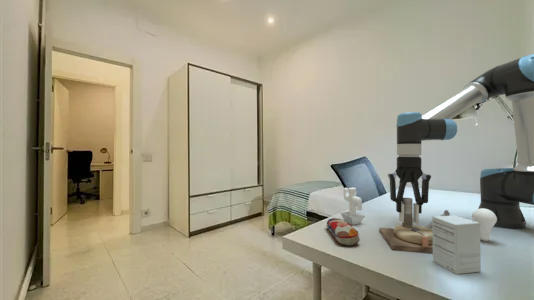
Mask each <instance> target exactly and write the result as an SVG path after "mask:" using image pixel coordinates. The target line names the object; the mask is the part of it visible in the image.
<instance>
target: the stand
mask: <svg viewBox="0 0 534 300" xmlns="http://www.w3.org/2000/svg"><path fill="white" fill-rule="evenodd" d="M378 231H379V233H380V234H381V236H382V237H383V239H384V240H385V242H386V243H387V244H388V246H389V248H391V250H392V251H400V252H409V253H410V252H412V253H423V254H433V244H428V247H423V246H422V244H417V243H412V242H408V241H405V240H402V239H399V238H398V237H396V236H395V235H394V227H393V228H391V227H388V228H387V227H379V228H378Z"/></svg>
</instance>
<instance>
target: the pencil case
mask: <svg viewBox="0 0 534 300" xmlns="http://www.w3.org/2000/svg"><path fill="white" fill-rule="evenodd" d="M326 228H327V229H328V230H329V232H330V233H331V235H332V236H333V237H334V239H335V240H336V241H337V242H338V243H339V244H341V245H342V246H343V245H344V246H347V247H350V246H352V245H355V244H357V243H359V242H360V241H361V238H360V236H359V235H360V234H359V231H358V230H357V229H355V227H353V225H352V224H349V223H347V222H346V221H344V219H343V218H342V219H341V218H336V217H332V218H329V219H328V220H327V222H326Z"/></svg>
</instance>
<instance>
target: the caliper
mask: <svg viewBox="0 0 534 300" xmlns="http://www.w3.org/2000/svg"><path fill="white" fill-rule="evenodd" d="M440 216H451V214H450V212H449V209H444V211H443V214H441V215H440ZM424 227H426V228H429V229H432V222H430V223H429V224H428V223H427V224H426V225H425V226H424Z"/></svg>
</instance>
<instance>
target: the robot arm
mask: <svg viewBox="0 0 534 300" xmlns="http://www.w3.org/2000/svg"><path fill="white" fill-rule="evenodd" d="M499 96H505V99H507V100H509V101H511V107H512V108H511V109H512V114H513V115H512V117H513V126H514V133H515V134H514V136H515V145H516V146H515V147H516V153H517V154H516V155H517V163H518V164H517V165H515V166H514V167H504V168H502V167H501V168H499V167H498V168H484V169H482V170H481V171H480V177H479V183H480V184H479V185H480V191H479V192H480V203H479V205H478V208H477V209H480V208H484V209H488V210H490V211H492V212H493V213H494V214H495V215H496V217H497V222H496V223H495V225H494V226H493V227H496V228H505V229H515V230H517V229H520V230H521V229H525V228H527V221H526V219H525V215H524V214H523V212H522V210H521V208H520V207H521V206H520V203H522V204H526V205H532V206H534V53H532V54H527V55H524V56H522V57H519V58H516V59H514V60H512V61H509V62H506V63H503V64H499V65H496V66H494V67H492V68H490V69H488V70H487V71H484V73H482V74H480V75H478V77H476V78H474V79H473V80H471V81H469V82H468V83H466V84H465V85H464V86H463V88H462V89H461V90H460V91H458V92H457V93H455V94H454V95H452V96H450V97H449V98H447V99H446V100H444V101H442V102H441V103H439V104H438V105H436V106H435V107H433V108H432V109H430V110H427V112H425V113H423V114H422V113H421V112H419V111H408V112H406V111H405V112H402V113H399V114H398V115H397V118H396V155H397V156H396V170H395V171H394V172H391V173H388V174H387V178H388V179H389V194H390V196H389V197H390V200H391V201H392V202H394V203H395V207H396V209H395V211H396V213H398V221H400V223H401V224H402V223H404V204H403V203H402V199H403V198H404V194H405V190H406V186H407V185H408V183H410V184H411V186H412V187H411V188H412V192H413V196H414V200H415V202H412V204H413V223H415V224H417V225H418V224H419V223H420V222H419V221H420V214H422V213H423V212H422V211H423V209H422V206H423V205H424V204H427V203H429V187H430V186H429V185H430V180H431V178H432V175H431V174H427V173H424V172H423V169H422V158H421V155H422V142H423V141H445V140H446V141H447V140H451V139H454V138H455V136H456V135H457V132H458V124H457V122H456V121H455V120H453V118H455V117H457V116H458V115H460V114H462V113H463V112H465V111H466V110H468V109H469V108H471V107H473V106H474V105H475V104H482V103H484V102H486V101H488V100H490V99H493V98H495V97H499ZM397 177H398V178H399V184H398V188H396V187H397V186H396V185H397V184H396V178H397ZM420 178H421V179H422V181H421V190H420V187H419V185H420V184H419V180H420ZM397 189H398V190H397Z"/></svg>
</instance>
